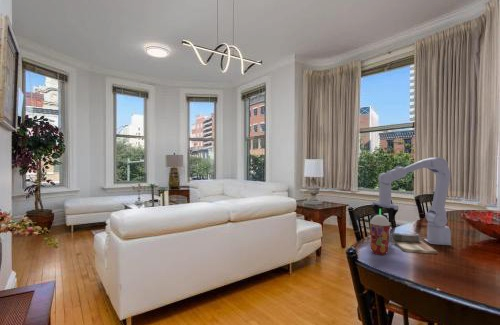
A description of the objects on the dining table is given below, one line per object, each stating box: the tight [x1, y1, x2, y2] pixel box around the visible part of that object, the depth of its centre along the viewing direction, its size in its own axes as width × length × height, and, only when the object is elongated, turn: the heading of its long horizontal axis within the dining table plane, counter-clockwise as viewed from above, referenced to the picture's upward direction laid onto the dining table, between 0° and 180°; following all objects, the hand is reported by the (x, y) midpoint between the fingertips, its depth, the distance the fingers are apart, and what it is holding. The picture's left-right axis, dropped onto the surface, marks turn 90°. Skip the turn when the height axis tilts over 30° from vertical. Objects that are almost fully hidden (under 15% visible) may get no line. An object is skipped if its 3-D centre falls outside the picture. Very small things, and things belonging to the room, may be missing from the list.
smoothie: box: [369, 209, 391, 256], centre depth 121 cm, size 8×8×20 cm
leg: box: [391, 232, 421, 242], centre depth 136 cm, size 12×4×3 cm, turn 80°
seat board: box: [391, 238, 438, 255], centre depth 130 cm, size 14×16×1 cm
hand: (384, 220), depth 143 cm, fingers open, 7 cm apart
